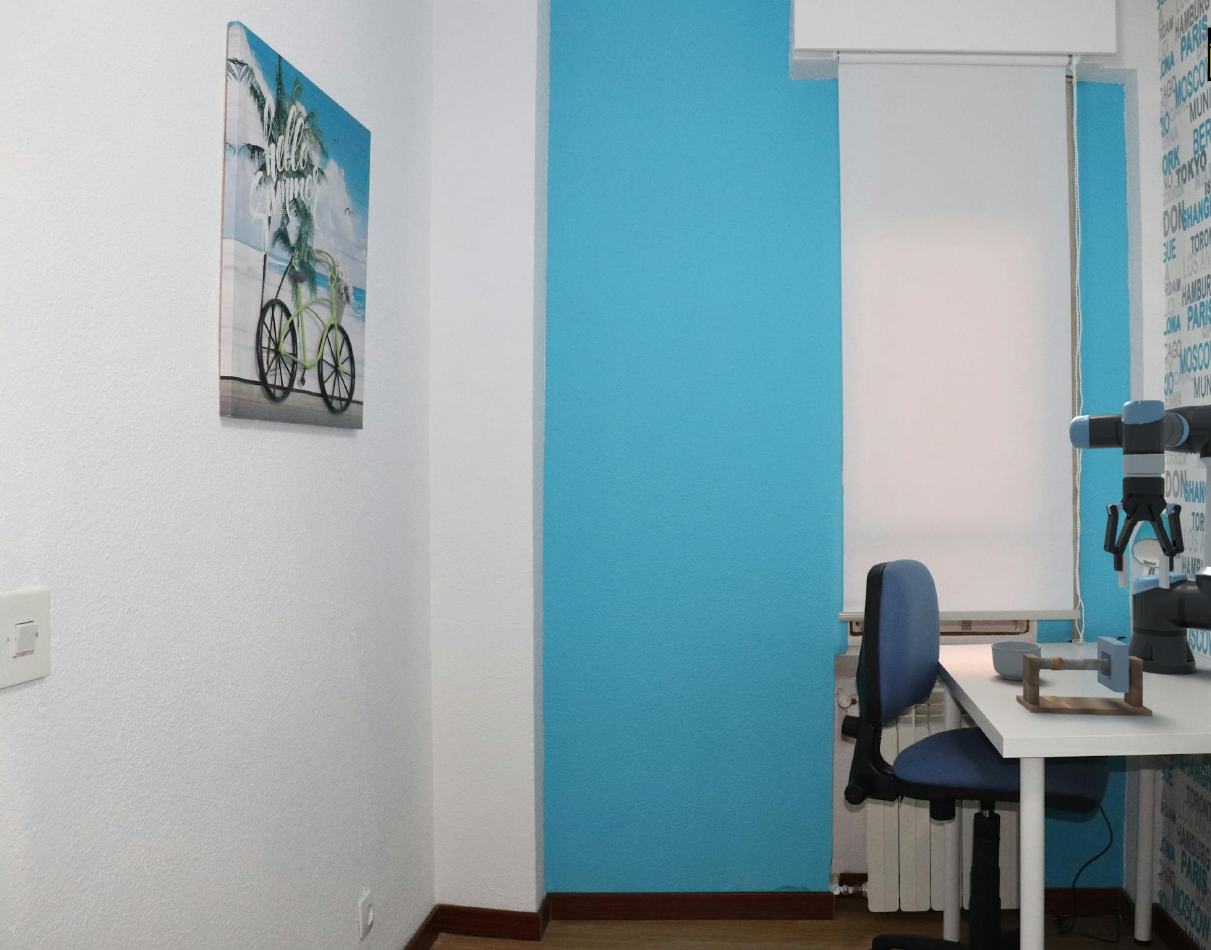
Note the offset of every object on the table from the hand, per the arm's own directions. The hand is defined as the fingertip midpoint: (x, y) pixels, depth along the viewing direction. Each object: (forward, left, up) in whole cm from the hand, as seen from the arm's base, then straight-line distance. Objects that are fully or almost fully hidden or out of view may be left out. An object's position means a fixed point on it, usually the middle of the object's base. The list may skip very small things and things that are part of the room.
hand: (1143, 587), depth 191 cm
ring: (+6, 0, -21) cm, 22 cm away
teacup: (+17, -29, -25) cm, 42 cm away
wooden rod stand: (+12, 0, -25) cm, 28 cm away
